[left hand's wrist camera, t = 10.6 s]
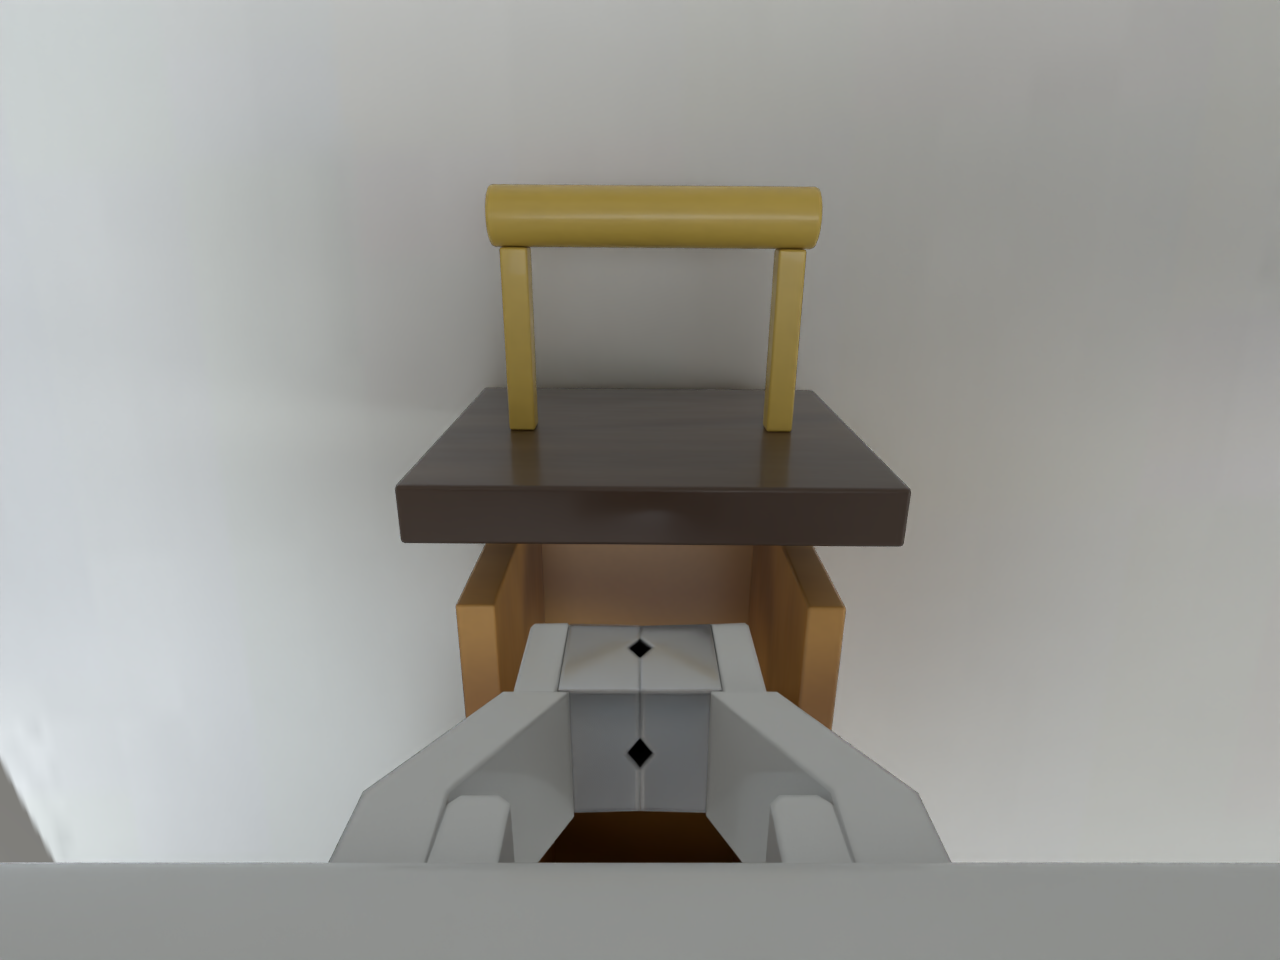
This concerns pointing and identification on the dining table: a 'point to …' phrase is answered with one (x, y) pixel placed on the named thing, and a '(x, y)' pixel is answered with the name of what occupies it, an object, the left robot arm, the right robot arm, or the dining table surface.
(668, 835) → the drawer
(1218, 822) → the dining table surface
